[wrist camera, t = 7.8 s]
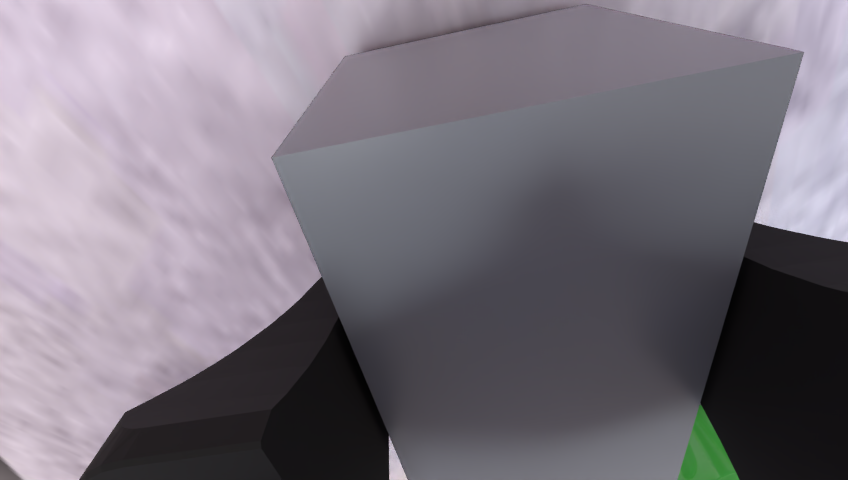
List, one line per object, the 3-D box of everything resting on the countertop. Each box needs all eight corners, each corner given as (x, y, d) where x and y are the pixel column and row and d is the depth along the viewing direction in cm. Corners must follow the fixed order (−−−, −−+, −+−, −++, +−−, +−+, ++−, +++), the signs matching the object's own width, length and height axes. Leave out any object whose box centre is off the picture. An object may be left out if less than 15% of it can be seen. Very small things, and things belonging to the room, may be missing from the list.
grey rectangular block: (578, 317, 16) (669, 507, 10) (424, 341, 16) (431, 534, 11) (586, 4, 10) (805, 52, 4) (344, 56, 10) (271, 156, 5)
